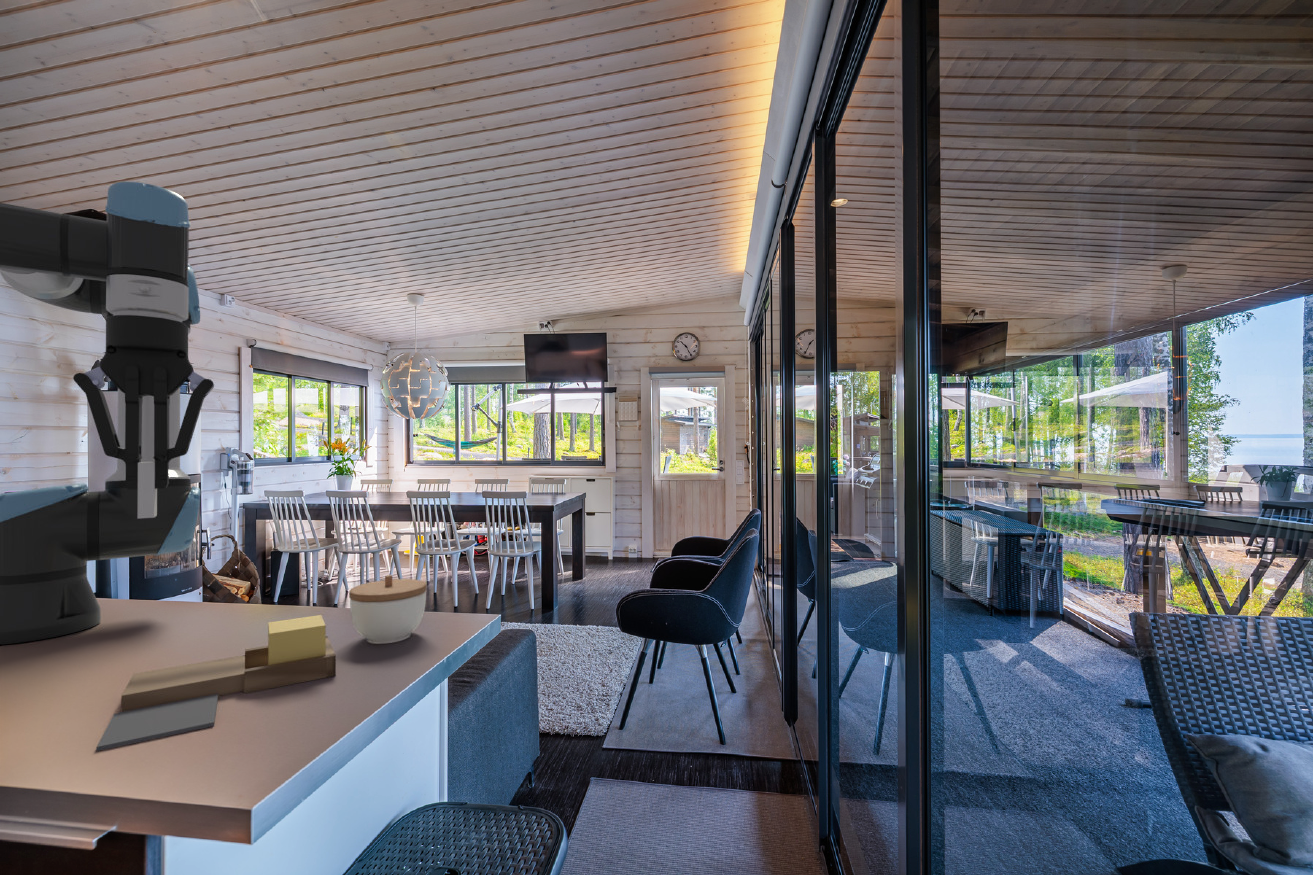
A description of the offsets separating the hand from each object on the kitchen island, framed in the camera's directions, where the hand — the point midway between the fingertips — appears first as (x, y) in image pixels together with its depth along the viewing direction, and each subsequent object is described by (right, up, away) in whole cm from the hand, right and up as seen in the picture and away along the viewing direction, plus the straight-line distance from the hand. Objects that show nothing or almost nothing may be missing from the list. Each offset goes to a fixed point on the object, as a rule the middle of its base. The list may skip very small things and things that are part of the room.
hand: (147, 516), depth 72 cm
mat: (+9, -20, -8) cm, 24 cm away
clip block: (+14, -18, +6) cm, 23 cm away
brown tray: (+9, -21, +3) cm, 23 cm away
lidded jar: (+20, -21, +20) cm, 35 cm away
